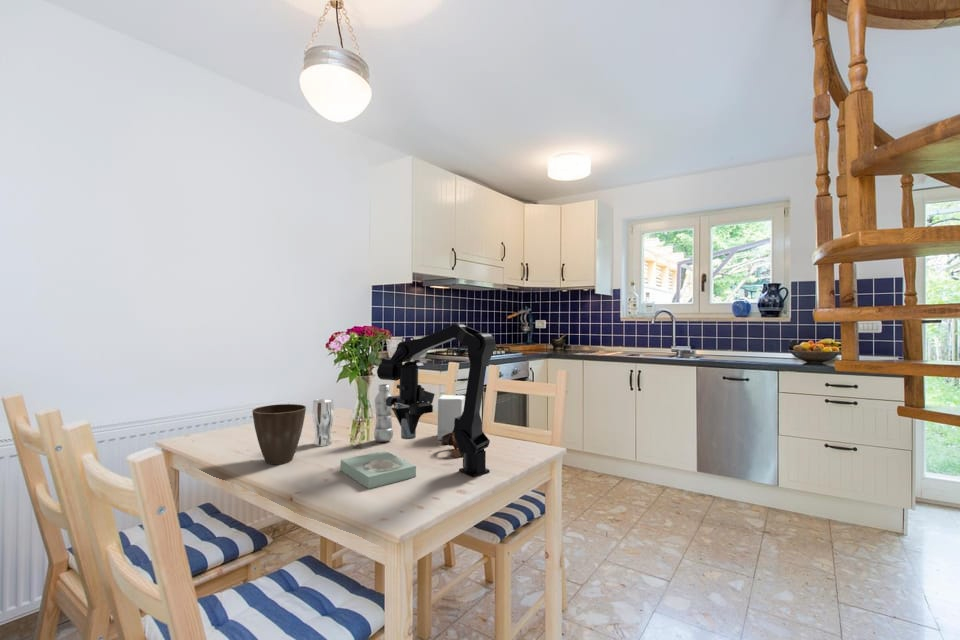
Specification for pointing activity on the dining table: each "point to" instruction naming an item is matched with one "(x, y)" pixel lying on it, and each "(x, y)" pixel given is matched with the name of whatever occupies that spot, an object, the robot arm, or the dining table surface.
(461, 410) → the supplement box
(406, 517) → the dining table surface
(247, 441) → the dining table surface
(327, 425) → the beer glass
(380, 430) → the plastic bottle
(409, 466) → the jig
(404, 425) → the dark metal cylinder
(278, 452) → the plant pot
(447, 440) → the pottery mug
